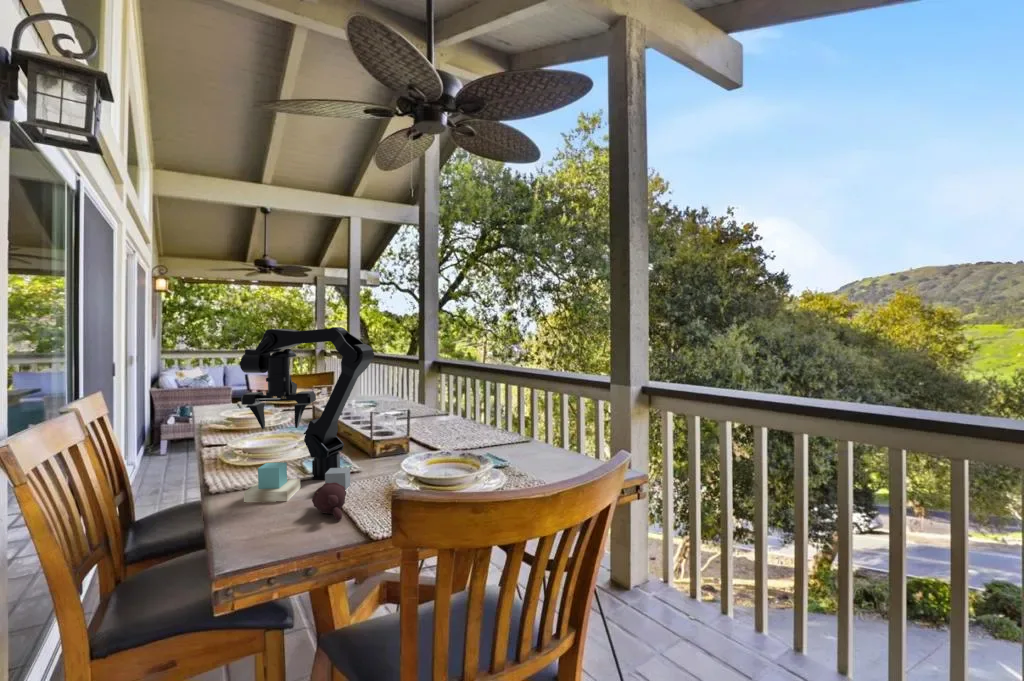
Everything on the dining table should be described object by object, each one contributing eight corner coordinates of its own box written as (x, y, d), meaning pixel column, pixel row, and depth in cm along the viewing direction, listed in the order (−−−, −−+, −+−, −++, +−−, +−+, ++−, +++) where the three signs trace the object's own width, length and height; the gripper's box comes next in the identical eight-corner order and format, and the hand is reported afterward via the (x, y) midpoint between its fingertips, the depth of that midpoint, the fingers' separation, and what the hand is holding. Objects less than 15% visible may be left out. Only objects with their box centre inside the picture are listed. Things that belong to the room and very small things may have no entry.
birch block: (300, 490, 135) (300, 478, 135) (287, 503, 125) (287, 491, 125) (260, 491, 134) (260, 480, 134) (243, 505, 124) (243, 492, 124)
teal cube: (287, 481, 132) (286, 462, 132) (279, 488, 127) (278, 468, 127) (266, 482, 132) (266, 462, 131) (258, 488, 127) (257, 468, 126)
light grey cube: (350, 486, 136) (350, 467, 136) (345, 492, 131) (345, 473, 131) (330, 487, 136) (330, 468, 135) (325, 493, 131) (324, 473, 130)
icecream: (304, 478, 121) (314, 503, 108) (335, 466, 125) (349, 489, 112) (312, 505, 123) (323, 532, 110) (343, 492, 126) (357, 517, 113)
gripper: (320, 370, 155) (322, 421, 156) (256, 371, 154) (258, 423, 155) (308, 373, 144) (310, 429, 145) (239, 374, 143) (241, 431, 144)
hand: (280, 428), depth 147 cm, fingers open, 9 cm apart
